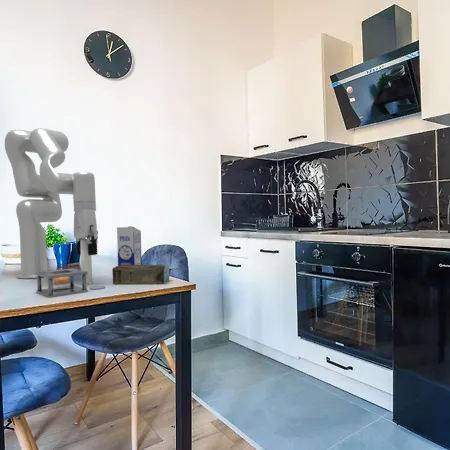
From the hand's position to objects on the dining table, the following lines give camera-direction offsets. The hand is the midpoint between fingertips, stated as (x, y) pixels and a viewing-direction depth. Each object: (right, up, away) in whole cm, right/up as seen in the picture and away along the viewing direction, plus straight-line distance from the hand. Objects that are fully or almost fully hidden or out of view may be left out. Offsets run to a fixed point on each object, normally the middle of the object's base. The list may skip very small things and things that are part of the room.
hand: (87, 254), depth 137 cm
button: (-3, -8, -14) cm, 17 cm away
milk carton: (+12, -10, +14) cm, 21 cm away
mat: (+7, -11, -9) cm, 16 cm away
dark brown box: (+20, -11, 0) cm, 22 cm away
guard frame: (-3, -11, -14) cm, 18 cm away
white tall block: (0, -11, +1) cm, 11 cm away
